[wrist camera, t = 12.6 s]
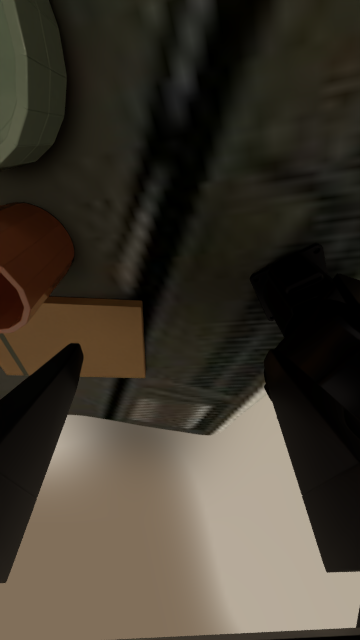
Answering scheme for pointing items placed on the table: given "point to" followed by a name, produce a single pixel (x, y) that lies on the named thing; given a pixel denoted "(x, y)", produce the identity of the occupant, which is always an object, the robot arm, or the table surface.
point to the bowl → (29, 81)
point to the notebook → (80, 337)
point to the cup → (29, 261)
